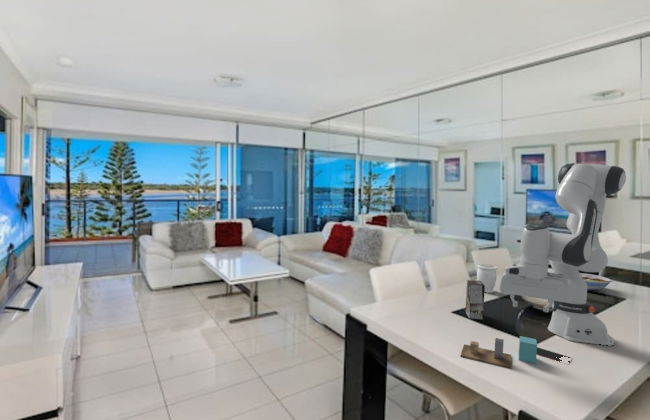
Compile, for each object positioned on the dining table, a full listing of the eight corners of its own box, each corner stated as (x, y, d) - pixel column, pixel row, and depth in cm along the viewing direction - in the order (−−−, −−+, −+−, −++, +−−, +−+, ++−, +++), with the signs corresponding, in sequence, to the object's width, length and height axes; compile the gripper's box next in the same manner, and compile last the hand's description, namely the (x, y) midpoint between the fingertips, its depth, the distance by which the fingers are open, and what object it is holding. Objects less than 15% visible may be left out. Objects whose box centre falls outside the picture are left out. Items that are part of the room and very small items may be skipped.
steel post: (502, 358, 125) (503, 339, 124) (502, 361, 123) (503, 342, 122) (494, 356, 126) (495, 337, 126) (494, 359, 124) (495, 340, 123)
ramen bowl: (609, 288, 222) (610, 275, 221) (615, 297, 203) (616, 283, 202) (562, 281, 235) (563, 269, 235) (563, 289, 216) (564, 276, 215)
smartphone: (568, 364, 122) (524, 350, 131) (568, 366, 122) (524, 351, 132) (573, 357, 126) (529, 344, 136) (572, 359, 127) (529, 346, 136)
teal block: (534, 357, 126) (536, 339, 126) (535, 363, 122) (537, 344, 121) (518, 353, 129) (519, 335, 128) (518, 359, 124) (519, 341, 124)
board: (511, 356, 127) (511, 345, 126) (510, 368, 118) (511, 357, 118) (464, 345, 134) (464, 335, 134) (460, 356, 126) (461, 345, 125)
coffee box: (483, 319, 162) (485, 285, 161) (468, 318, 163) (470, 284, 162) (478, 312, 171) (480, 280, 170) (464, 311, 172) (466, 279, 171)
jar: (472, 288, 212) (473, 264, 210) (486, 287, 215) (487, 263, 214) (485, 294, 201) (486, 268, 200) (499, 293, 205) (501, 267, 203)
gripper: (567, 273, 121) (564, 312, 122) (501, 265, 131) (498, 301, 131) (570, 277, 115) (566, 317, 116) (500, 268, 125) (498, 306, 126)
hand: (530, 309), depth 124 cm, fingers open, 8 cm apart
